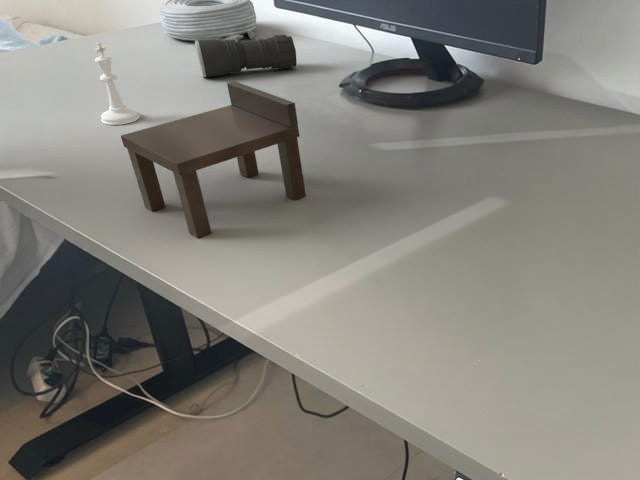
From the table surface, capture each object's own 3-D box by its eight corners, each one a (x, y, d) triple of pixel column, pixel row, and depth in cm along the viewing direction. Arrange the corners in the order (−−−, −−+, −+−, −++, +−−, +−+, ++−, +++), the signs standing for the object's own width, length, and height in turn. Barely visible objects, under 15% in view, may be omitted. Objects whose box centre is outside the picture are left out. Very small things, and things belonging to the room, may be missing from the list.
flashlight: (294, 63, 122) (289, 29, 119) (301, 71, 118) (296, 36, 115) (200, 72, 118) (193, 37, 114) (204, 81, 114) (196, 45, 110)
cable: (257, 42, 133) (251, 7, 129) (158, 47, 130) (148, 11, 126) (259, 21, 146) (254, -12, 142) (170, 25, 143) (162, -9, 139)
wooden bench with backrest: (197, 240, 72) (170, 138, 66) (142, 207, 78) (112, 111, 71) (308, 196, 80) (294, 102, 74) (251, 169, 86) (234, 80, 80)
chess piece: (147, 115, 101) (126, 40, 95) (122, 127, 97) (99, 49, 91) (119, 111, 102) (96, 36, 96) (93, 122, 99) (68, 45, 92)
